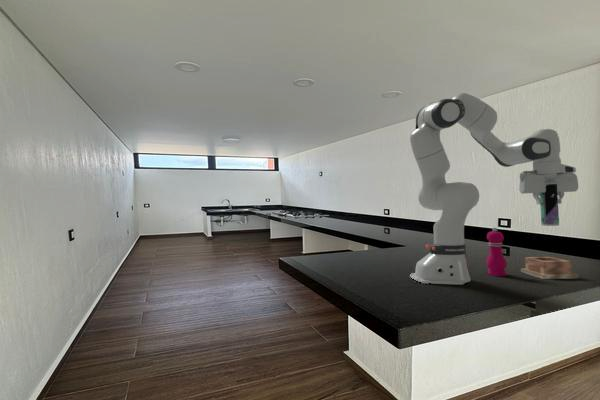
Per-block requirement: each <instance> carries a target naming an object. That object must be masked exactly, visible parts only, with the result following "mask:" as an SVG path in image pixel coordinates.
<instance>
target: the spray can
mask: <svg viewBox="0 0 600 400" xmlns="http://www.w3.org/2000/svg"><path fill="white" fill-rule="evenodd" d="M544 183H545V187H546V192H545V193H540V196H539V197H540V199H541V200H543V204H539V206H540V207H539V208H540V221H541V223H540V224H541V226H545V227H546V226H547V227H548V226H550V227H551V226H552V227H556V226H560V216H559V215H560V213H559V204H558V195H557V183H556V181H554V180H547V181H545V182H544Z"/></svg>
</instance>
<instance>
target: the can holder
mask: <svg viewBox="0 0 600 400" xmlns="http://www.w3.org/2000/svg"><path fill="white" fill-rule="evenodd" d="M524 260H525V261H524V263H525V267H523V268H520V272H521V273H524V274H527V275H528V276H529V275H530V276H533V277H536V278H540V279H543V280H557V279H558V280H560V279H563V280H564V279H565V280H566V279H570V280H572V279H579V277H580V276H579V274H577V273H574V272H573V265H572V260H567V259H563V258H559V257H553V256H530V257H529V256H527V257H524Z"/></svg>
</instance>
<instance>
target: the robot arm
mask: <svg viewBox="0 0 600 400" xmlns="http://www.w3.org/2000/svg"><path fill="white" fill-rule="evenodd" d="M497 121H498V113H497V111H496V110H495V109H494V108H493V107H492V106H491V105H489V104H488V103H486V102H485V101H483V100H481V99H480V98H478V97H476V96H473V95H472V94H469V93H466V92H461V93H458V94H456V95H455V96H453V97H452V98H444V99H440V100H438V101H433V102H430V103H429V104H427V105H425V106H423V107H422V108H420V110H419V111H418V112H417V114H416V118H415V129H414V130H413V132H412V133H411V134H410V136H409V140H410V146H411V150H412V153H413V155H414V159H415V161H416V164H417V166H418V169H419V172H420V174H421V179H422V180H421V181H422V184H421V185H422V186H421V189H420V191H419V194H418V202H419V204H420V206H421V207H422V208H424V209H427V210H431V211H442V212H441V216H440V218H439V219H438V220H437V221H435V223H434V224H433V226H432V227H433V228H432V229H433V243H432V244H426V245H425V248H426V250H429V253H427V254H426V255H425V256H424V257H422V258H420V259H419V260H418V261H417V262H416V265H415V272H412V273H410V274H409V278H410V277H411V278H412V279H414V280H416V281H418V282H417V283H419V282H421V283H420V284H429V283H431V284H432V285H434V284H435V285H460V286H462V285H465V283H469V282H471V277H470V275H469V274H470V273H469V271H468V270H469V269H468V267H467V266H468V265H467V260H466V258H467V248H466V244H465V224H466V220H467V217H468V215H469V213H470V211H471V210H473V208H474V207H475V206H477V205H478V203H479V200H480V193H479V192H480V191H479V189H478V188H477V186H476V184H474V183H471V182H463V181H457V182H455V181H454V182H447V181H446V174H447V173H448V171H449V170H450V168H451V162H450V161H449V158H448V155H447V153H446V149H445V148H444V146H443V143H442V141H441V136H440V135H441V130H444V129H445V130H446V129H447V128H451V127H453V126H454V125H455V124H457V123H458V124H459V125H460V126H462V127H463V128H464V129H466V130H468V131H469V132H470V136H471V137H472V138H473V139H474V140H475V141H476V142H477V143H478V144H479V145H480V146H481V147H482V148H483V149H484V150H486V151H487V152H488V153H489V154H491V155H492V157H493V158H494V159H495V161H496V162H497V164H498V165H500V166H502V167H505V168H509V167H512V166H516V165H521V164H526V163H531V162H532V170H524V171H523V172H521V173H520V174H519V188H518V190H519V192H520V193H521V194H532V197H533V198H534V199H535V202H536V205H540V204H543V200H541V199H540V193H545V192H546V187H545V183H544V182H545V181H547V180H554V181H556V183H557V195H558V205H560V204H562V203H563V202H562V200H563V198H564V197H565V193H572V192H573V193H574V192H575V193H576V192H577V191H578V189H579V181H578V176H577V174H575V173H576V172H577V169H576V167H575V166H571V165H567V164H563V163H562V160H561V158H560V153H561V141H560V136H559V134H558V132H557V131H556V130H554V129H552V128H551V129H550V128H546V129H539V130H535V131H534V132H533V133H532V134H530V135H529V136H527V137H525V138H521V139H519V140H515V141H512V142H506V141H505V142H504V141H502V140H501V139H500V138H498V137H497V136H496V135H495V134H494V133H493V132H492V130H493V129H494V128H495V125H496V124H497ZM411 278H410V279H411ZM412 279H411V280H412ZM414 280H413V281H414ZM416 281H415V282H416Z"/></svg>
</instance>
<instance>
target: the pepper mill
mask: <svg viewBox="0 0 600 400" xmlns="http://www.w3.org/2000/svg"><path fill="white" fill-rule="evenodd" d="M504 238H505V237H504V235H503V233H502V232H501V231H498V228H497V227H494V226H493V227H492V231H489V232H487V234H486V240H487V241H488V247H489V255H488V256H487V258H486V266H487V267H488V270H487V272H488V275H490V276H495V277H505V276H506V275H507V271H506V270H505V269H507V266H508V265H507V260H506V259H505V257H504V254H503V250H502V247H503V241H504V240H505V239H504Z"/></svg>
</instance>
